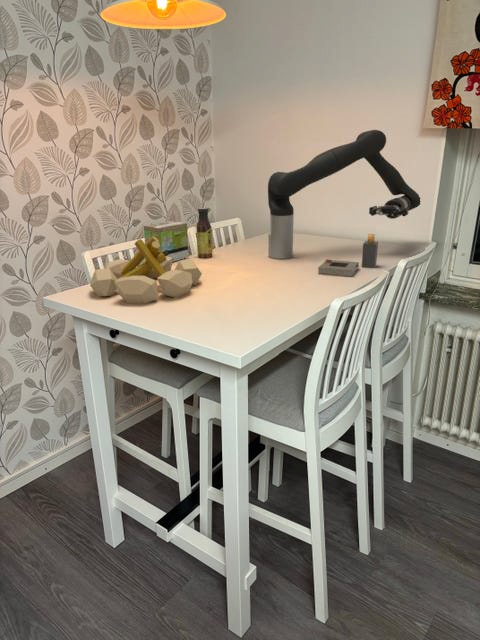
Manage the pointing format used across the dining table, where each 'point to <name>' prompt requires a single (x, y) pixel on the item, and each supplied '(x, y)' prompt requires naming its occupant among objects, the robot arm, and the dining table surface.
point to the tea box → (169, 238)
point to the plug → (369, 252)
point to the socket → (338, 268)
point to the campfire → (145, 275)
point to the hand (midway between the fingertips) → (382, 213)
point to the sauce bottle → (204, 234)
